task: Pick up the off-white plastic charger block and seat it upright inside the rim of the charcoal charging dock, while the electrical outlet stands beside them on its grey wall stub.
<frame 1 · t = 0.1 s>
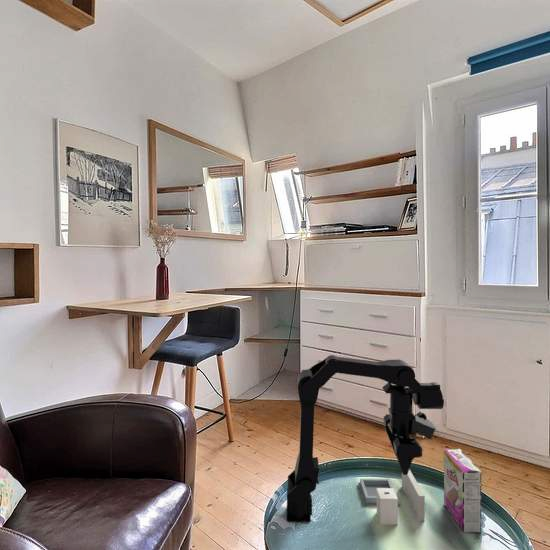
hand: (401, 464, 99), 14 cm above the table, fingers open, 9 cm apart
charger block: (386, 518, 99), on the table
candy bar box: (461, 518, 99), on the table
wall stub: (412, 502, 105), on the table
charging dock: (378, 494, 109), on the table
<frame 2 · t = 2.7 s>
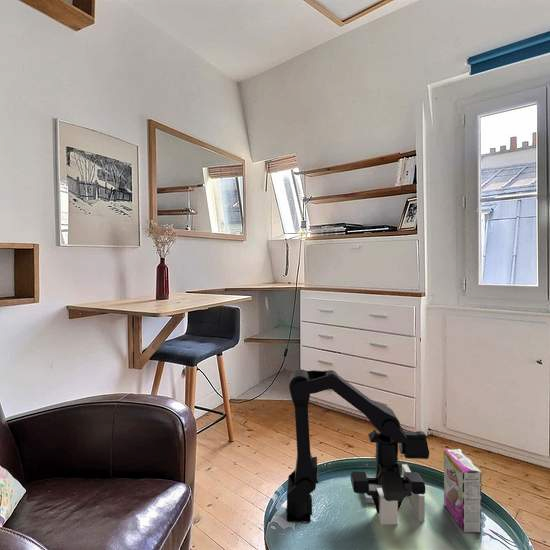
hand: (386, 512, 99), 2 cm above the table, fingers closed on charger block, 4 cm apart
charger block: (386, 518, 99), on the table, touching gripper
everything else where it was.
when the fingers open (3 cm above the table, at t = 7.5 s): charger block drops 1 cm, resting on charging dock.
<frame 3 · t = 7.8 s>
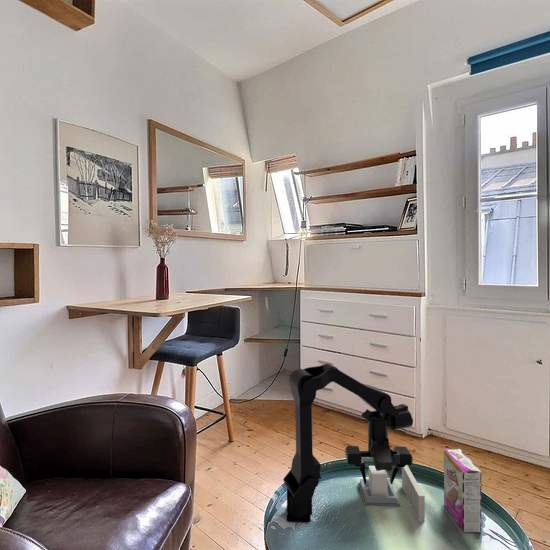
hand: (378, 483, 109), 3 cm above the table, fingers open, 7 cm apart
charger block: (378, 492, 109), resting on charging dock
everything else where it was.
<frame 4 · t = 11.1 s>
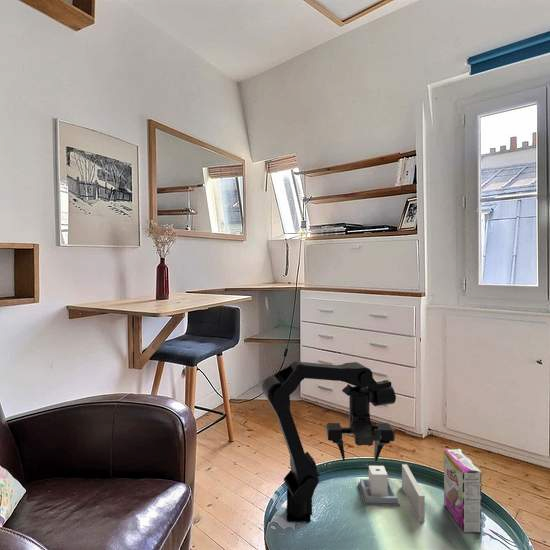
hand: (359, 460, 106), 12 cm above the table, fingers open, 9 cm apart
nothing on the table moved.
at the end: charger block 0.1 cm off-centre on the charging dock, point 0.5 cm above the charging dock's base; charger block tilted 0°; the gripper is holding nothing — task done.
